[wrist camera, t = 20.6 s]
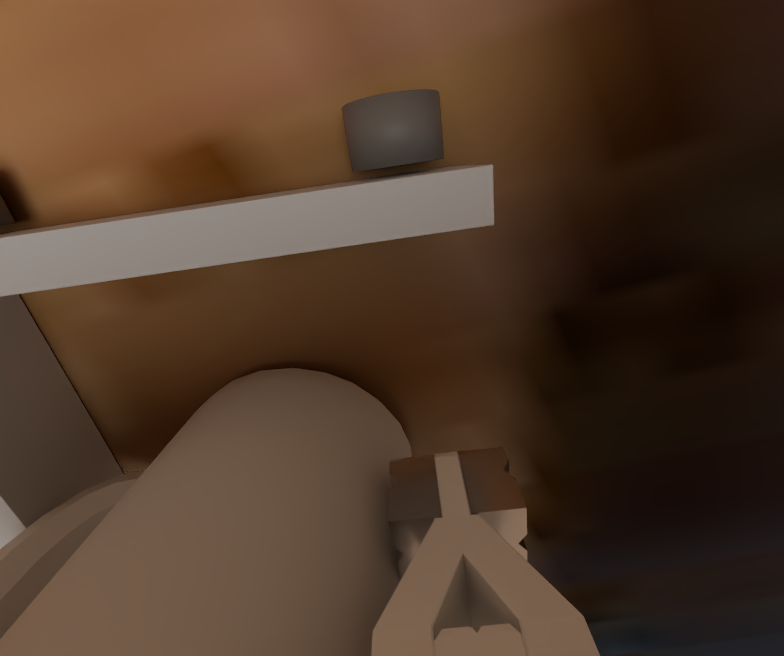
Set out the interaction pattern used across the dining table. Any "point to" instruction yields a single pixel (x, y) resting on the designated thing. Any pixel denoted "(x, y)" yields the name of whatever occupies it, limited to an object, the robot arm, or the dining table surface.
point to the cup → (222, 535)
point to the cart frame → (195, 250)
